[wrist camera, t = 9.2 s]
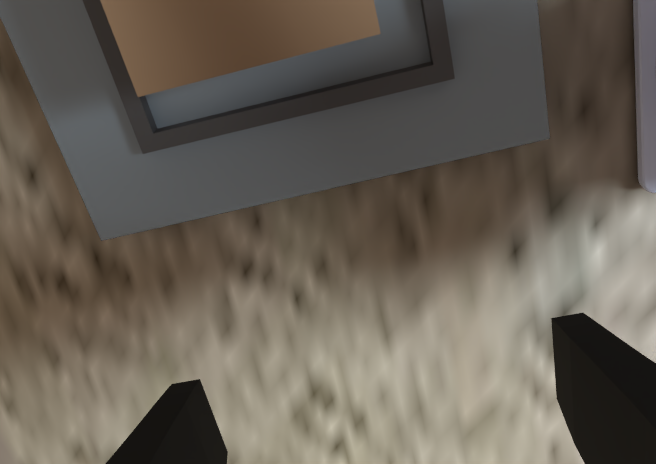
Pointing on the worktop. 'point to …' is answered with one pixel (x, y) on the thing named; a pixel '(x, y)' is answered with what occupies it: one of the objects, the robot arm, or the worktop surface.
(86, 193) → the slate base plate
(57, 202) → the worktop surface
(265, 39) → the walnut block
